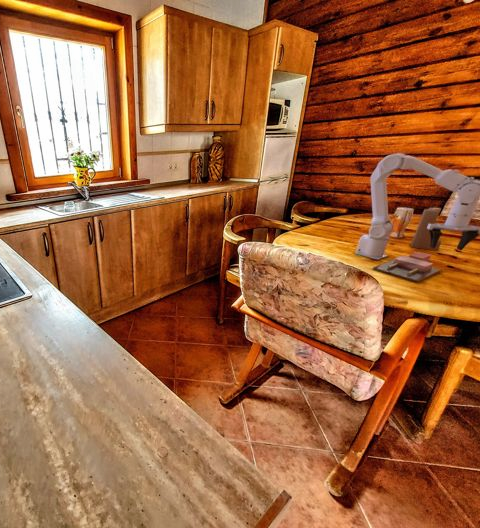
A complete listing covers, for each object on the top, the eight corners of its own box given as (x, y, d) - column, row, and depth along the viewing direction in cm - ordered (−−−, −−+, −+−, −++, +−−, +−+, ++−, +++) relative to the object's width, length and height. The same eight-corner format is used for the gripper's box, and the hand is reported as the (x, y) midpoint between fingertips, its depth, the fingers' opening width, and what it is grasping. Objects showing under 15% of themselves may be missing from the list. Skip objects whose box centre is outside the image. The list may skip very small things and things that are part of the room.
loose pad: (407, 261, 120) (409, 255, 119) (415, 258, 123) (417, 251, 122) (420, 264, 117) (423, 258, 115) (428, 261, 119) (431, 254, 118)
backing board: (372, 269, 115) (375, 261, 114) (396, 260, 122) (398, 253, 120) (416, 283, 103) (420, 274, 102) (439, 272, 110) (443, 264, 109)
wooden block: (436, 248, 131) (452, 210, 124) (437, 251, 128) (454, 213, 121) (410, 244, 137) (424, 208, 130) (411, 247, 134) (425, 210, 127)
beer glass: (383, 234, 152) (392, 207, 146) (395, 234, 152) (404, 206, 146) (395, 238, 145) (405, 210, 139) (407, 237, 146) (418, 209, 140)
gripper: (438, 215, 103) (424, 249, 108) (495, 218, 97) (477, 254, 102) (430, 211, 109) (417, 243, 114) (483, 213, 102) (467, 247, 108)
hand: (445, 248), depth 109 cm, fingers open, 7 cm apart
